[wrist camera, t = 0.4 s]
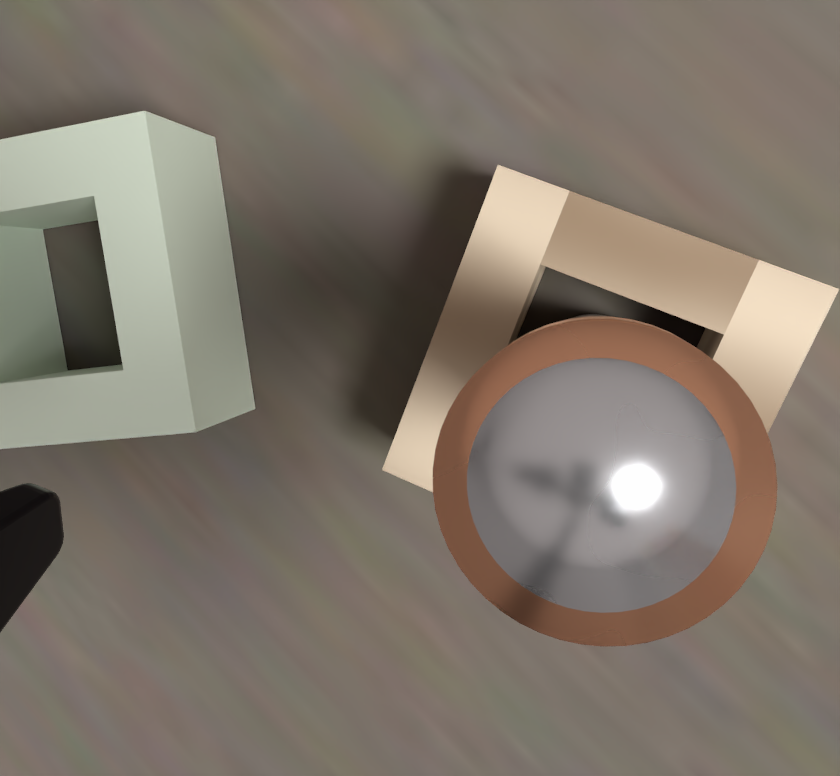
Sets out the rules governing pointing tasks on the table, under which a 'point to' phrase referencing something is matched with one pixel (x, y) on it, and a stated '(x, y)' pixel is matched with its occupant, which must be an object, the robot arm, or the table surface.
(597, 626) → the lock pin
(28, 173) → the dock socket
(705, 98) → the table surface
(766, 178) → the table surface
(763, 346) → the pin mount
